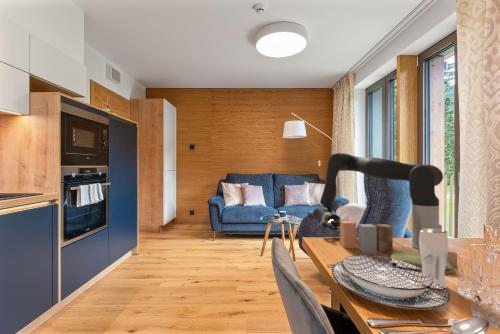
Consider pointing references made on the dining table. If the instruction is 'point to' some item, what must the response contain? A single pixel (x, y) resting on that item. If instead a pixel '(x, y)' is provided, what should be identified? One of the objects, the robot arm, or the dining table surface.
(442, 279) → the beer glass
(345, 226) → the terracotta block
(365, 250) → the slate-grey block
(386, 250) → the walnut block
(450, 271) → the washcloth
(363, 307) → the dining table surface
